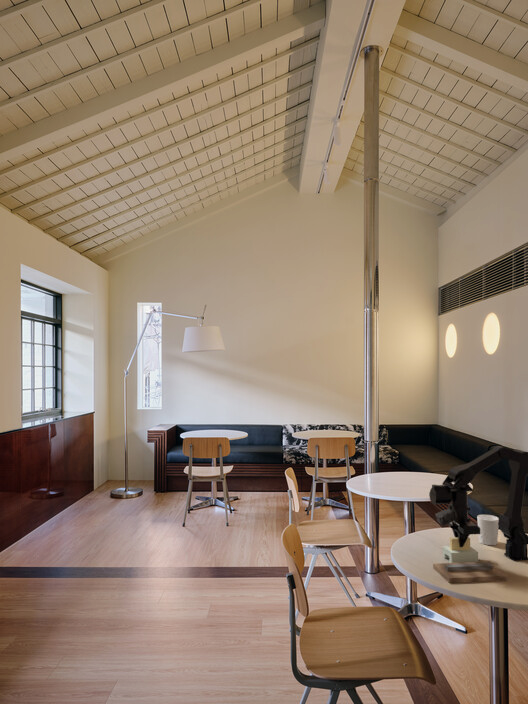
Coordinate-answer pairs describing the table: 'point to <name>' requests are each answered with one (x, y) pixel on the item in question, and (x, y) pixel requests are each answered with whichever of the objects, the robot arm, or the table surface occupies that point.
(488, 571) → the board
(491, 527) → the white cup
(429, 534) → the table surface
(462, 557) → the sage block
